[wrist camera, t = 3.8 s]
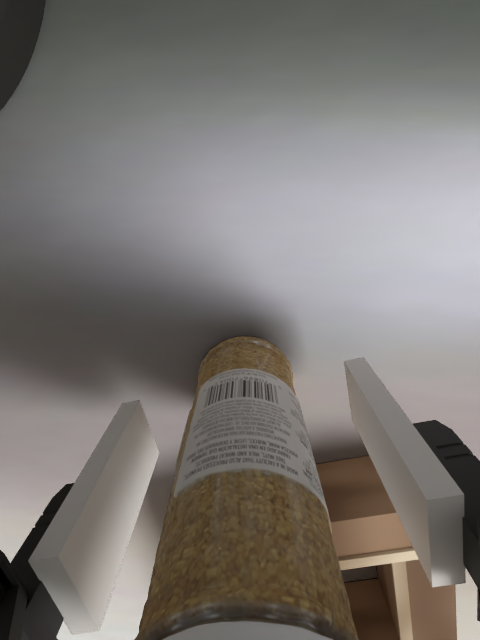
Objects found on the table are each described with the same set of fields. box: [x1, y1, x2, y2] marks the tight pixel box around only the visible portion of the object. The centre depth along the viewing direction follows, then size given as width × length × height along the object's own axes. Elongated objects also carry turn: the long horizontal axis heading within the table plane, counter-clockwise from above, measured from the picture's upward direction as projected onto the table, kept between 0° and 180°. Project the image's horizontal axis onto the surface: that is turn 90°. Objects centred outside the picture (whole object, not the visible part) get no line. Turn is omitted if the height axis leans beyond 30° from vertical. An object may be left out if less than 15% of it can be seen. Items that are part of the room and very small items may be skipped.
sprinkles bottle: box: [135, 336, 359, 640], centre depth 10 cm, size 5×5×13 cm
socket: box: [315, 456, 457, 640], centre depth 19 cm, size 12×12×4 cm
